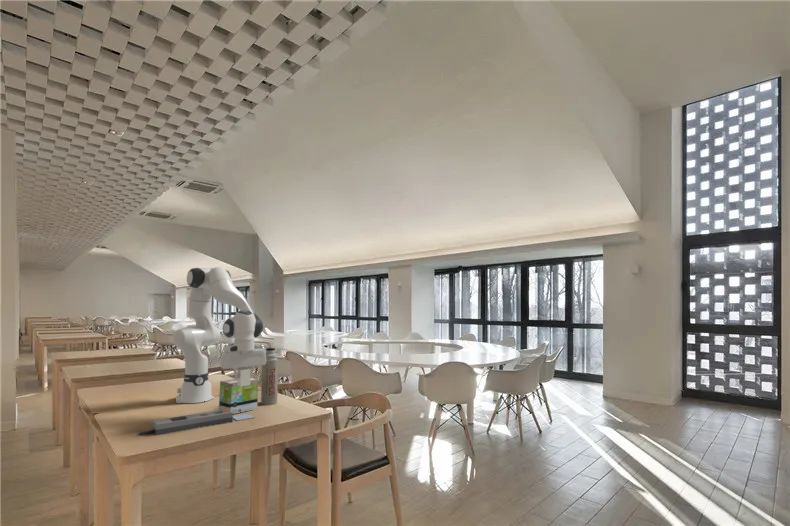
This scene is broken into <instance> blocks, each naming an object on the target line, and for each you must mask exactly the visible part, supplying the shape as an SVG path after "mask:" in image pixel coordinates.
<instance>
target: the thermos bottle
mask: <svg viewBox="0 0 790 526" xmlns="http://www.w3.org/2000/svg"><path fill="white" fill-rule="evenodd" d="M277 357H278V355H277V353H276V348H275V347H266V364H265V365H261V388H260V389H261V393H260V394H261V395H260V396H261V397H260V404H261V405H263V406H264V405H265V406H269V405H270V406H271V404H272V405H275V404H277V403H278V372H279V370H278V367H279V360H278V358H277Z"/></svg>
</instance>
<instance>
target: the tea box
mask: <svg viewBox="0 0 790 526" xmlns="http://www.w3.org/2000/svg"><path fill="white" fill-rule="evenodd" d="M258 389H259V379H258V378H257V379H256V378H253V377H250V385H248V386H238V385H237V378H235V379H226V380H220V382H219V398H218V399H219V403H218V410H223V409H230V411H231V412H232V413H233V415H236V414H241V413H246V412H250V410H251V411H256V410H257V409H258V400H259V399H258V397H259V396H258V395H259V394H258V392H259V390H258ZM255 409H256V410H255ZM245 411H246V412H245ZM240 412H241V413H240Z"/></svg>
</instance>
